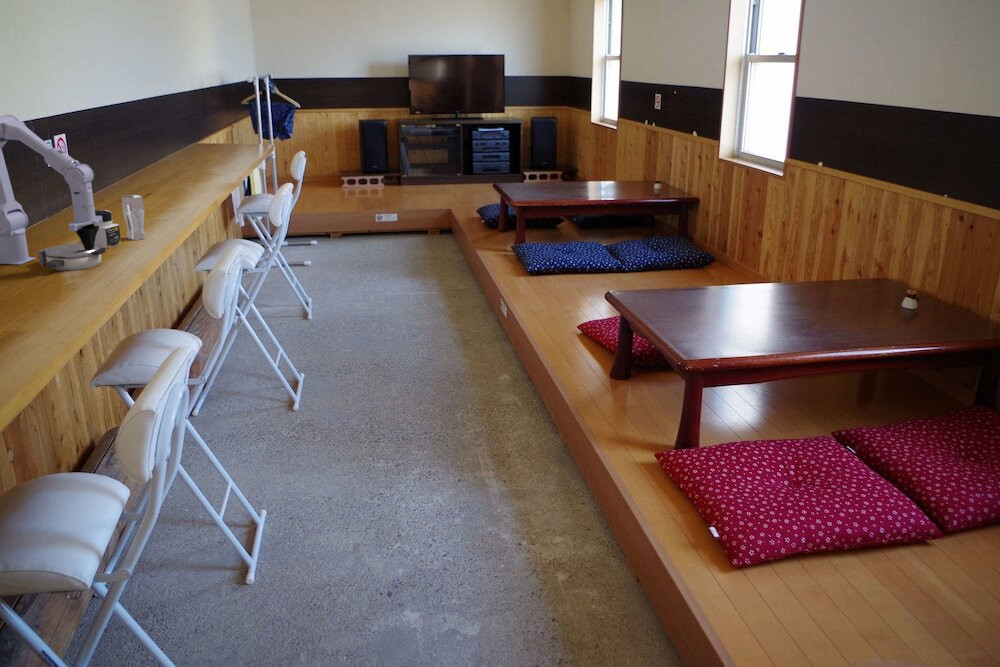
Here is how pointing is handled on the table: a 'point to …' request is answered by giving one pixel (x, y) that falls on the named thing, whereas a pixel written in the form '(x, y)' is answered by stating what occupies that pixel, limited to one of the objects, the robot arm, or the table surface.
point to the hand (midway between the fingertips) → (89, 249)
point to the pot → (69, 262)
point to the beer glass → (134, 216)
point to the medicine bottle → (107, 231)
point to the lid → (72, 251)
